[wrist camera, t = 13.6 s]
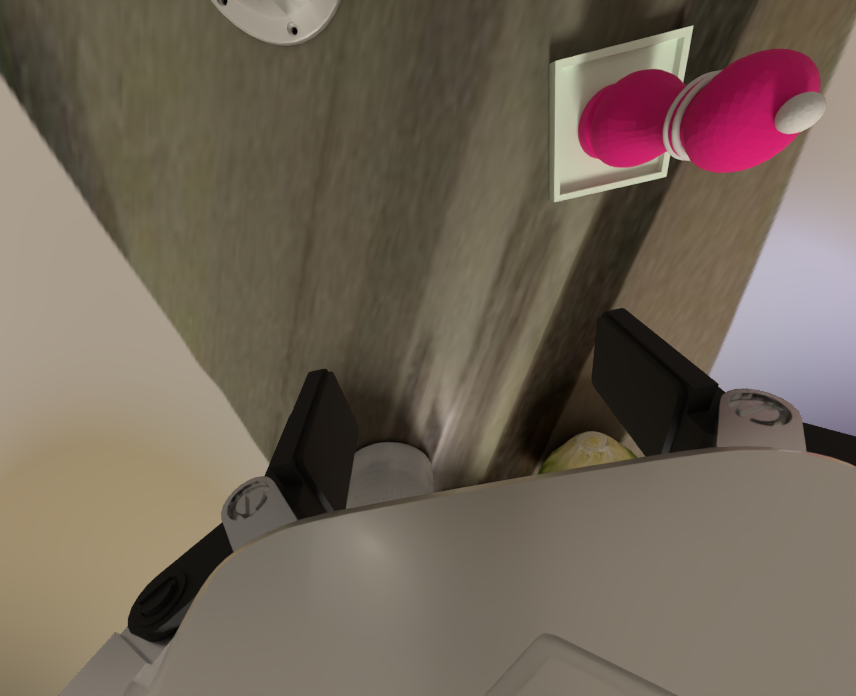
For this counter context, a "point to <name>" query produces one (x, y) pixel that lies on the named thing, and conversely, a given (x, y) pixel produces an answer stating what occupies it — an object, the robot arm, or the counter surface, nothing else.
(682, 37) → the tray
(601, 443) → the lettuce
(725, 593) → the robot arm
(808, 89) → the pepper mill
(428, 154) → the counter surface
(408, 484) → the planter
